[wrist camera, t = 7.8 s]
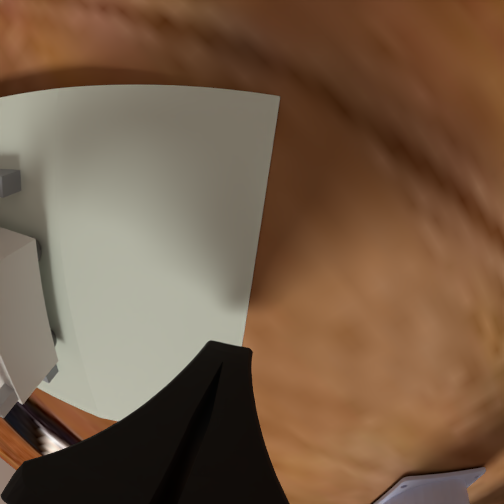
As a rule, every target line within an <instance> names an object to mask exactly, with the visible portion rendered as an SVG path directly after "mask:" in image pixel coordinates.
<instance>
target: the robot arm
mask: <svg viewBox="0 0 504 504" xmlns="http://www.w3.org/2000/svg"><path fill="white" fill-rule="evenodd" d="M252 353H253V352H252V350H251V349H250V348H246V347H241V346H236V345H231V344H226V343H222V342H217V341H213V340H210V341H208V342H207V343H206V344H205V346H204V347H203V348H202V349H201V350H200V352H199V353H198V354H197V355H196V356H195V357H194V359H193V360H192V361H191V362H190V363H189V364H188V365H187V366H186V367H185V368H184V369H183V370H182V371H181V372H180V373H179V374H178V375H177V376H176V377H175V378H174V379H173V380H172V381H171V382H170V383H169V384H167V385H166V386H165V387H164V388H163V389H162V390H160V391H159V392H158V393H157V394H156V395H155V396H153V397H152V398H151V399H150V400H149V401H147V402H146V403H145V404H143V405H142V406H141V407H139V408H138V409H137V410H135V411H134V412H132V413H131V414H129V415H128V416H126V417H125V418H123V419H122V420H120V421H118V422H117V423H115V424H113V425H112V426H110V427H108V428H107V429H105V430H103V431H101V432H99V433H98V434H96V435H94V436H92V437H90V438H87V439H85V440H83V441H81V442H79V443H76V444H74V445H72V446H69V447H67V448H65V449H62V450H59V451H57V452H54V453H51V454H47V455H44V456H41V457H38V458H34V459H31V460H27V461H24V462H23V464H22V465H21V466H20V467H19V468H18V469H17V470H16V472H15V473H14V475H13V476H12V478H11V479H10V481H9V483H8V484H7V486H6V487H5V489H4V491H3V492H2V494H1V498H2V500H3V501H4V502H6V503H7V504H289V502H288V500H287V498H286V495H285V493H284V491H283V489H282V487H281V485H280V482H279V480H278V478H277V476H276V473H275V471H274V468H273V466H272V463H271V460H270V458H269V455H268V452H267V449H266V446H265V442H264V439H263V436H262V432H261V428H260V424H259V420H258V416H257V411H256V406H255V399H254V393H253V386H252V374H251V361H252ZM485 472H486V469H485V467H481V468H475V469H469V470H463V471H456V472H449V473H440V474H430V475H419V476H407V477H404V478H402V479H401V480H400V481H399V482H398V483H397V484H396V485H394V486H393V487H392V488H391V489H390V490H389V491H388V492H387V493H386V494H384V495H383V496H382V497H381V498H380V499H379V500H377V501H376V502H375V503H374V504H470V502H469V497H468V493H467V487H469V486H470V485H471V484H472V483H474V482H475V481H476V480H477V479H478V478H479V477H481V476H482V475H483V474H484V473H485Z"/></svg>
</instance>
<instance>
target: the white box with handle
mask: <svg viewBox="0 0 504 504" xmlns="http://www.w3.org/2000/svg"><path fill="white" fill-rule="evenodd" d="M41 253H42V250H41V246H40V243H39V242H38V240H37V239H35V238H34V237H32V236H26V235H23V234H20V233H17V232H14V231H11V230H8V229H5V228H2V227H0V417H3V418H4V417H5V416H6V415H7V413H8V412H9V411H10V410H11V408H12V407H13V406H14V405H15V403H16V402H17V401H18V402H20V403H21V404H24V402H25V401H26V400H27V399H28V397H29V396H30V395H31V394H32V392H33V391H34V390H35V389H36V388H37V386H38V385H39V384H40V383H41V381H42V380H43V379H44V378H45V377H46V375H47V374H48V373H49V372H50V371H51V369H52V368H53V367H54V366H55V365H56V363H57V362H58V357H57V354H56V350H55V346H56V343H57V338H56V335H55V333H54V331H53V330H52V329H50V325H49V321H48V316H47V311H46V306H45V301H44V296H43V290H42V284H41V277H40V271H39V263H38V262H39V260H40V258H41Z"/></svg>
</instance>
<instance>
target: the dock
mask: <svg viewBox="0 0 504 504" xmlns="http://www.w3.org/2000/svg"><path fill="white" fill-rule="evenodd" d="M279 102H280V96H275V95H269V94H262V93H255V92H247V91H238V90H229V89H219V88H208V87H194V86H176V85H97V86H80V87H67V88H57V89H49V90H41V91H35V92H28V93H22V94H16V95H11V96H6V97H1V98H0V227H2V228H5V229H8V230H11V231H14V232H17V233H20V234H23V235H26V236H32V237H34V238H35V239H37V240H38V242H39V243H40V246H41V250H42V253H41V258H40V260H39V262H38V263H39V271H40V277H41V284H42V290H43V296H44V301H45V306H46V311H47V316H48V321H49V325H50V329H52V330H53V331H54V333H55V335H56V338H57V343H56V346H55V350H56V354H57V357H58V362H57V363H56V365H55V366H54V367H53V368H52V369H51V371H50V372H49V373H48V374H47V375H46V377H45V378H44V379H43V380H42V381H41V383H40V384H39V385H38V386H37V388H39V389H41V390H43V391H44V392H46V393H48V394H50V395H52V396H54V397H56V398H58V399H60V400H62V401H64V402H66V403H68V404H71V405H73V406H75V407H77V408H79V409H81V410H84V411H86V412H88V413H91V414H93V415H95V416H98V417H100V418H105V419H109V420H114V421H120V420H122V419H123V418H125V417H126V416H128V415H129V414H131V413H132V412H134V411H135V410H137V409H138V408H139V407H141V406H142V405H143V404H145V403H146V402H147V401H149V400H150V399H151V398H152V397H153V396H155V395H156V394H157V393H158V392H159V391H160V390H162V389H163V388H164V387H165V386H166V385H167V384H169V383H170V382H171V381H172V380H173V379H174V378H175V377H176V376H177V375H178V374H179V373H180V372H181V371H182V370H183V369H184V368H185V367H186V366H187V365H188V364H189V363H190V362H191V361H192V360H193V359H194V357H195V356H196V355H197V354H198V353H199V352H200V350H201V349H202V348H203V347H204V346H205V344H206V343H207V342H208V341H210V340H213V341H217V342H222V343H226V344H231V345H236V346H241V347H242V342H243V336H244V330H245V323H246V317H247V311H248V304H249V298H250V291H251V285H252V279H253V272H254V266H255V259H256V253H257V246H258V240H259V233H260V227H261V220H262V214H263V207H264V201H265V194H266V188H267V181H268V175H269V168H270V161H271V155H272V148H273V142H274V135H275V128H276V122H277V115H278V108H279Z"/></svg>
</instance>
